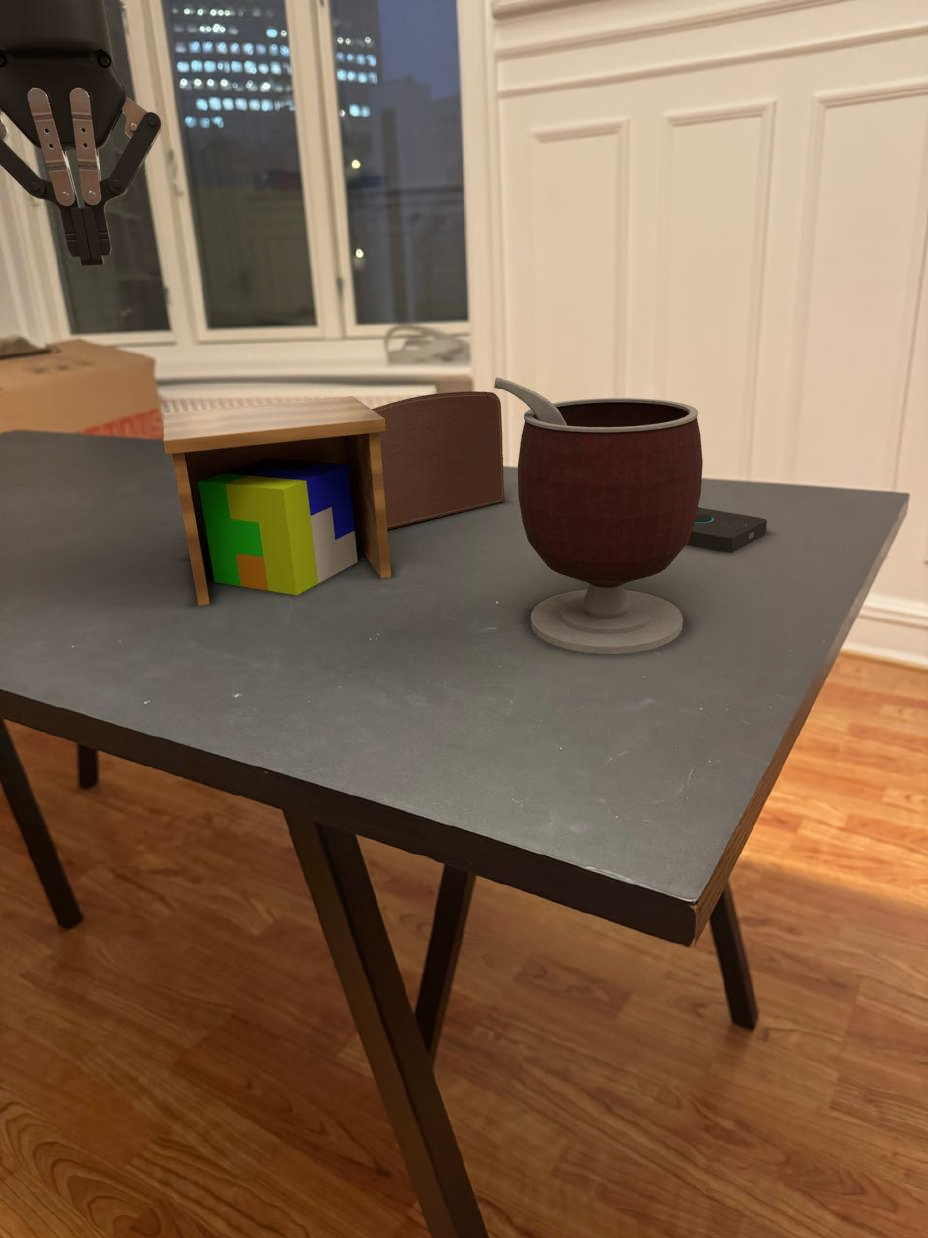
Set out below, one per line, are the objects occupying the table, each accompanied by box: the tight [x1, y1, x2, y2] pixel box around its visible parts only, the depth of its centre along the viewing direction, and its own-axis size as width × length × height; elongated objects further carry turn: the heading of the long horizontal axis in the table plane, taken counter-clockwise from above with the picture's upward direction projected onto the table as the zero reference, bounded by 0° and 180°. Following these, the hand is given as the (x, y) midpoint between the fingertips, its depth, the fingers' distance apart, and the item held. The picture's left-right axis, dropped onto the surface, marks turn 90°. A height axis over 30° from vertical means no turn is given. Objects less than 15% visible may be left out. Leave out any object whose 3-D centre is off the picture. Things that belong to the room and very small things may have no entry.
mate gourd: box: [493, 376, 704, 655], centre depth 69 cm, size 16×14×20 cm
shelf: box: [162, 395, 392, 606], centre depth 86 cm, size 15×19×15 cm
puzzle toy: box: [198, 458, 359, 596], centre depth 86 cm, size 10×10×10 cm
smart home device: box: [686, 506, 768, 554], centre depth 96 cm, size 8×2×20 cm
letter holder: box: [371, 390, 505, 531], centre depth 104 cm, size 10×20×14 cm, turn 126°
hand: (92, 264), depth 63 cm, fingers closed
